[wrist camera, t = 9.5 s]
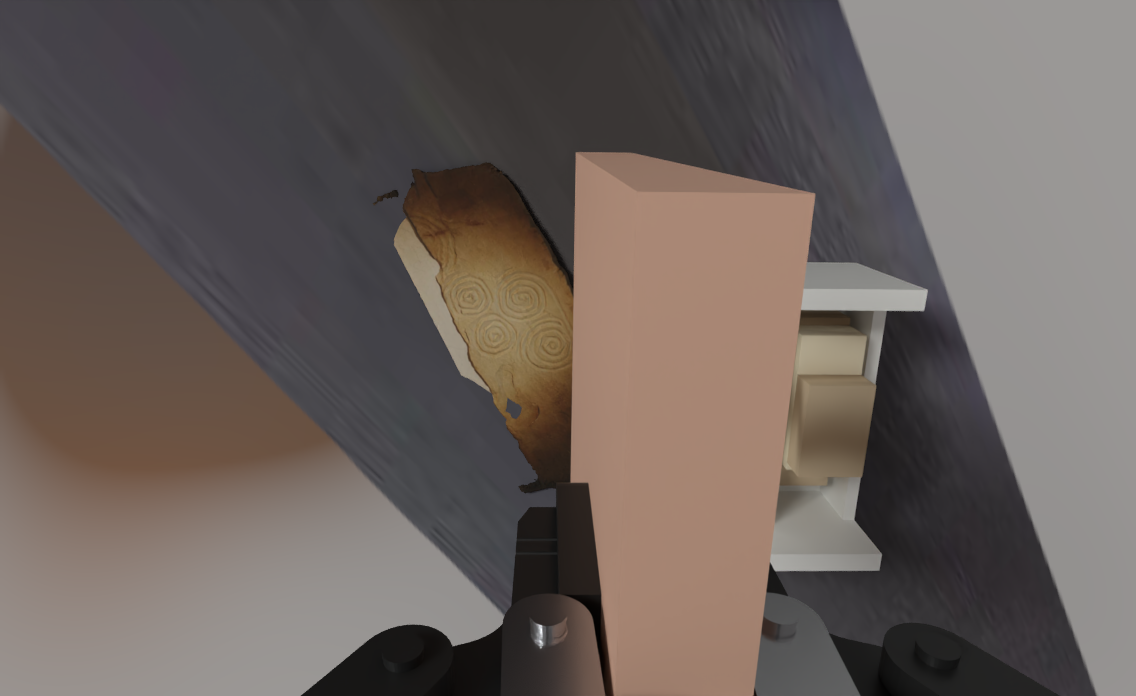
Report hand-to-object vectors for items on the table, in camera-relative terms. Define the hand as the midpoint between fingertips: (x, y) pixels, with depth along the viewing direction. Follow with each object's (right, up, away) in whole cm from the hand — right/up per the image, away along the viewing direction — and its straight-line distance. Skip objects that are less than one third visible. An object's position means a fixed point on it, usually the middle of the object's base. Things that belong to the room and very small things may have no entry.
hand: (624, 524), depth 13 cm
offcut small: (+15, -1, +29) cm, 33 cm away
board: (0, +3, +8) cm, 8 cm away
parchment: (-5, +5, +33) cm, 34 cm away
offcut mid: (+15, +1, +31) cm, 34 cm away
